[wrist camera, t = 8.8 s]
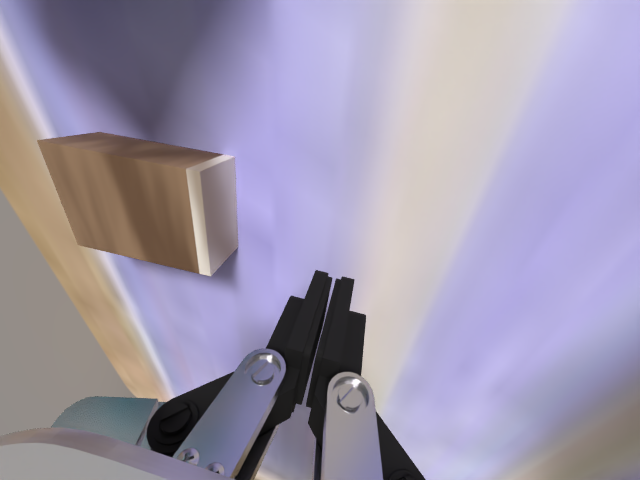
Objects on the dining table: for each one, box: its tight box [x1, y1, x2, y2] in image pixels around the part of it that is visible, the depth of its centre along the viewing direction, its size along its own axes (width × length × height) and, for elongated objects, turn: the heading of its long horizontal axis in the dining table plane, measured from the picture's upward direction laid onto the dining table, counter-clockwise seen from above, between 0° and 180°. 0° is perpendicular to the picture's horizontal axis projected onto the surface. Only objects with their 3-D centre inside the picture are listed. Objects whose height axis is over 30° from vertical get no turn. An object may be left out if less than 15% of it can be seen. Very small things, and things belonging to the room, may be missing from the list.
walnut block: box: [37, 132, 238, 276], centre depth 18 cm, size 4×7×10 cm
